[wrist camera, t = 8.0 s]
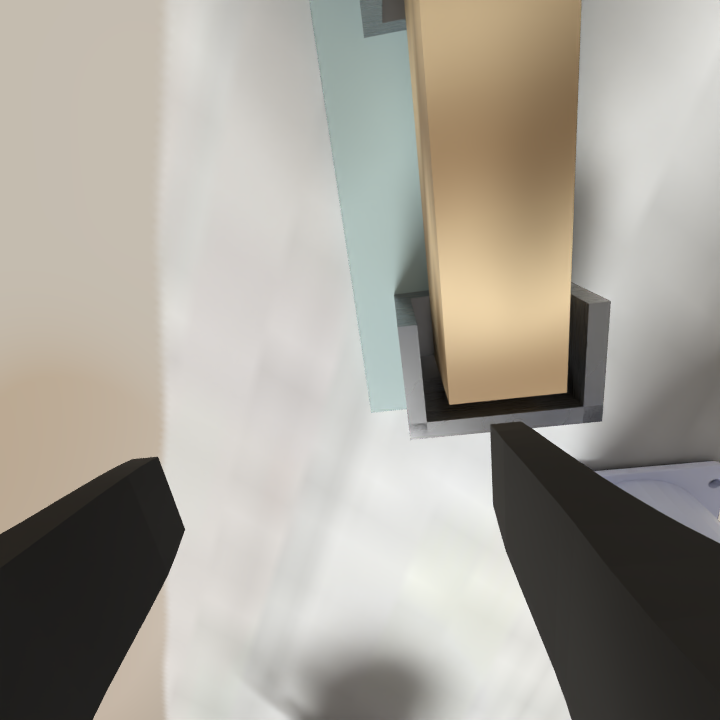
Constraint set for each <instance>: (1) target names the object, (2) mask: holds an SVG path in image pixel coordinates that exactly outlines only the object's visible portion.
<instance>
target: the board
mask: <svg viewBox="0 0 720 720" xmlns="http://www.w3.org/2000/svg"><path fill="white" fill-rule="evenodd" d="M309 2H310V9H311V16H312V22H313V29H314V36H315V42H316V49H317V55H318V62H319V69H320V75H321V82H322V89H323V95H324V102H325V108H326V115H327V122H328V128H329V135H330V142H331V148H332V155H333V161H334V168H335V175H336V181H337V188H338V195H339V201H340V208H341V214H342V221H343V228H344V234H345V241H346V248H347V254H348V261H349V267H350V274H351V281H352V287H353V294H354V301H355V307H356V314H357V321H358V327H359V334H360V340H361V347H362V354H363V360H364V367H365V374H366V380H367V387H368V393H369V400H370V407H371V413H373V412H382V411H392V410H402V409H407V405H406V397H405V388H404V379H403V371H402V362H401V354H400V345H399V336H398V328H397V319H396V310H395V301H394V295H395V294H403V293H410V292H418V291H426V290H429V285H428V273H427V262H426V250H425V238H424V226H423V215H422V203H421V191H420V180H419V168H418V156H417V145H416V133H415V121H414V109H413V98H412V86H411V74H410V63H409V51H408V39H407V30H403V31H398V32H393V33H388V34H383V35H377V36H372V37H367V38H364V34H363V25H362V17H361V8H360V0H309Z"/></svg>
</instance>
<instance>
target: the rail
mask: <svg viewBox="0 0 720 720" xmlns="http://www.w3.org/2000/svg"><path fill="white" fill-rule="evenodd" d="M404 4H405V16H406V27H407V39H408V51H409V63H410V74H411V86H412V98H413V109H414V121H415V133H416V145H417V156H418V168H419V180H420V191H421V203H422V215H423V226H424V238H425V250H426V262H427V273H428V285H429V297H430V308H431V320H432V332H433V344H434V355H435V360H436V363H437V367H438V370H439V373H440V376H441V379H442V382H443V386H444V389H445V392H446V395H447V398H448V401H449V405H452V404H462V403H471V402H481V401H491V400H501V399H510V398H520V397H530V396H539V395H549V394H559V393H567V376H568V349H569V322H570V295H571V268H572V241H573V214H574V187H575V160H576V133H577V106H578V79H579V53H580V26H581V0H404Z"/></svg>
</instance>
